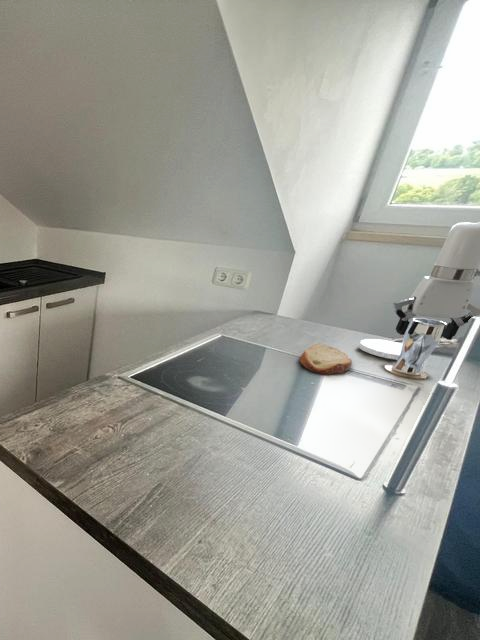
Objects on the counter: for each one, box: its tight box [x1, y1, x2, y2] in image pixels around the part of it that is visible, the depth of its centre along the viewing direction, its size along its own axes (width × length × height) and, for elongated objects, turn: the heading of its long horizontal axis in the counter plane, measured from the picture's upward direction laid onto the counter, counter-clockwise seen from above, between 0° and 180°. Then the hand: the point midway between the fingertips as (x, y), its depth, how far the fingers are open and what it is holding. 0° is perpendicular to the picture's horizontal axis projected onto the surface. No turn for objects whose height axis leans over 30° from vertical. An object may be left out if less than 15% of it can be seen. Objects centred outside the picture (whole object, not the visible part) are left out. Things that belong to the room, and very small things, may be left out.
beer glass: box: [392, 317, 448, 375], centre depth 108 cm, size 7×7×15 cm
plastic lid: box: [358, 338, 402, 361], centre depth 123 cm, size 14×14×2 cm
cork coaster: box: [383, 363, 429, 380], centre depth 112 cm, size 9×9×1 cm
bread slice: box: [299, 343, 352, 376], centre depth 118 cm, size 18×18×4 cm
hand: (422, 335), depth 107 cm, fingers open, 9 cm apart
